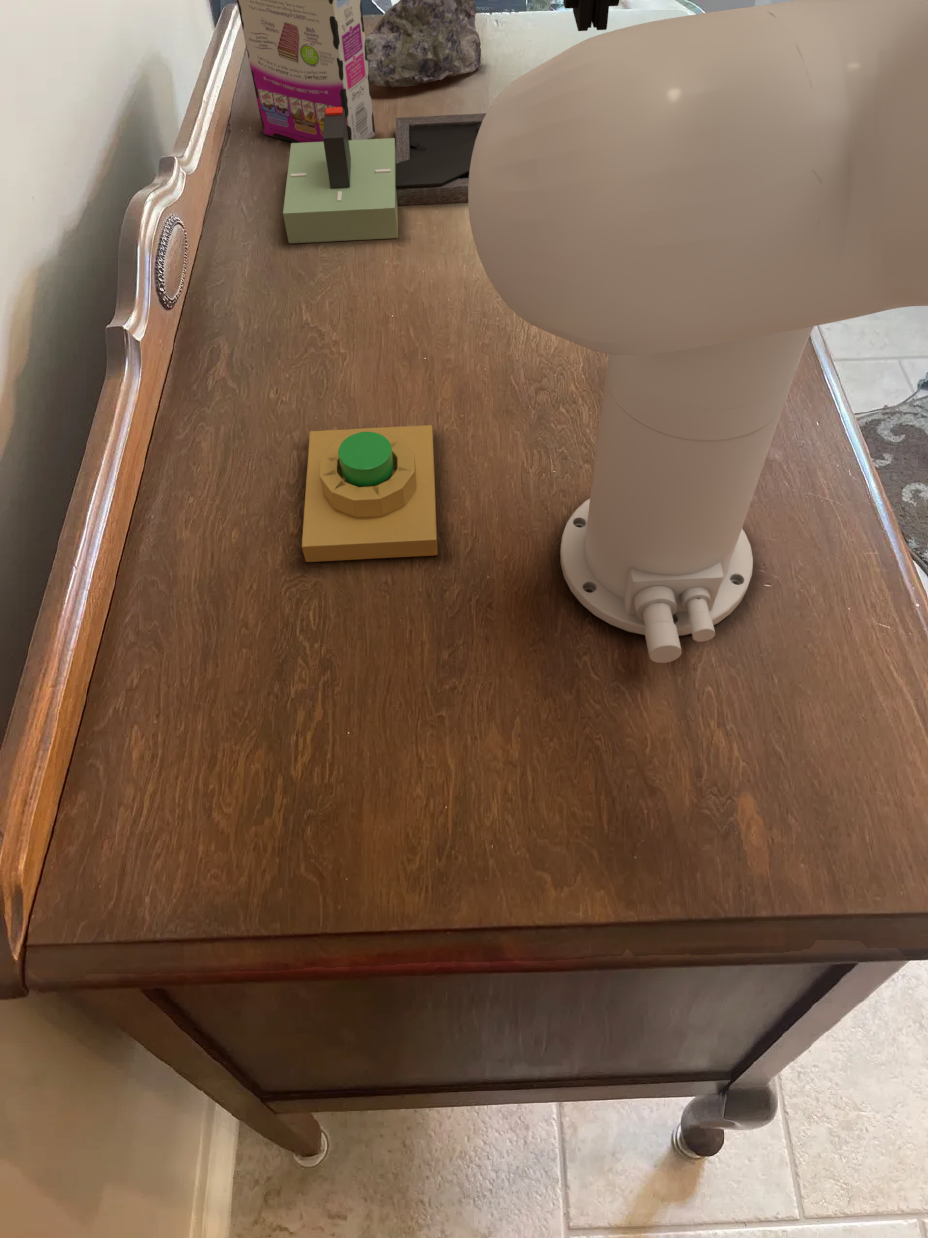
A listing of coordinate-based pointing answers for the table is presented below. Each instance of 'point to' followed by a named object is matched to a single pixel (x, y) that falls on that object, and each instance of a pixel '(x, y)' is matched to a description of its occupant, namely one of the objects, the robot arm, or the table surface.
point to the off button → (366, 459)
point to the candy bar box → (308, 66)
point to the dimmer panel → (342, 194)
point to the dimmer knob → (337, 147)
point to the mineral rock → (423, 42)
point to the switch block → (371, 500)
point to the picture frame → (434, 157)
